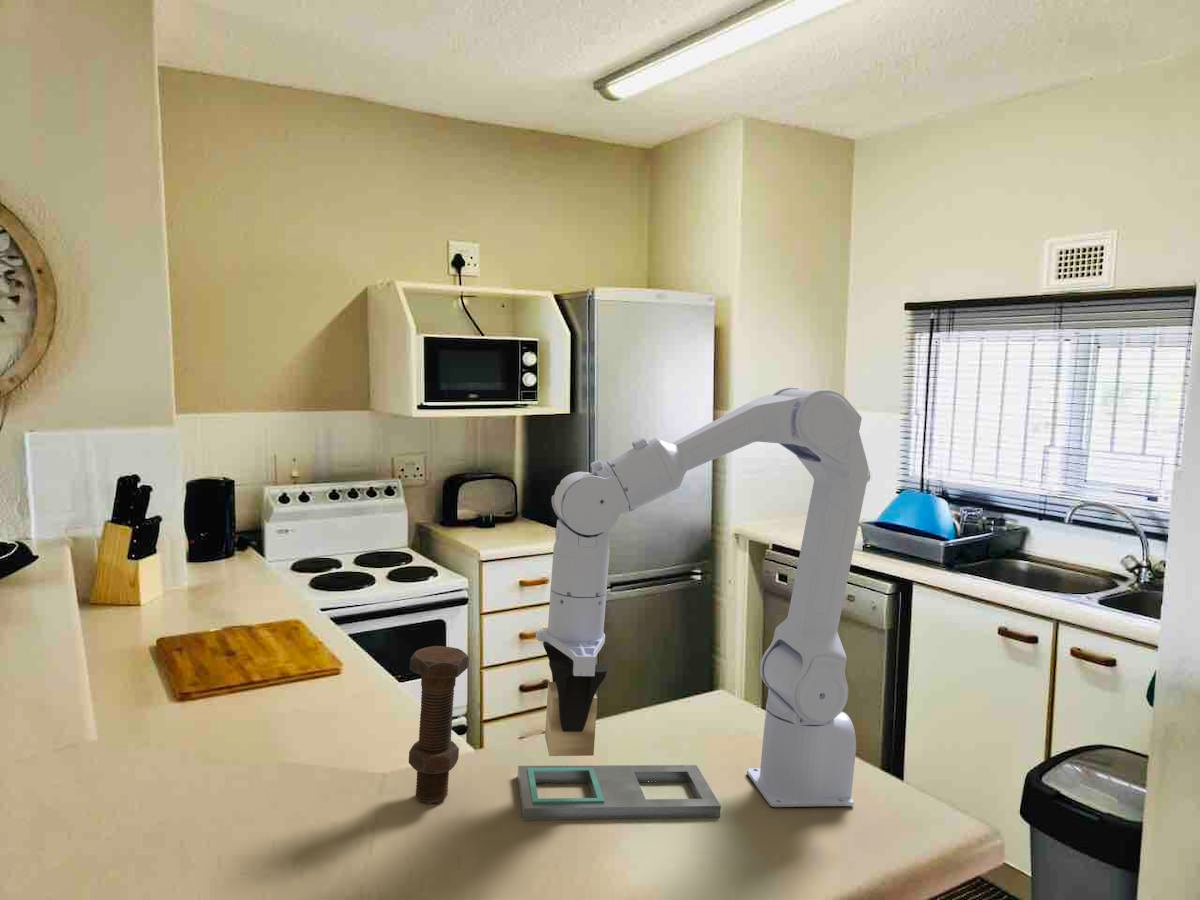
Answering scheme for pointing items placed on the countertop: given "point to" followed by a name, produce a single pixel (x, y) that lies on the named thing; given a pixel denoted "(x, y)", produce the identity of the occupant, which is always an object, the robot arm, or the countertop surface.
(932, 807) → the countertop surface
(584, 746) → the oak block
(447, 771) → the bolt
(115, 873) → the countertop surface
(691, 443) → the robot arm
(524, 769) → the grey peg insertion board
